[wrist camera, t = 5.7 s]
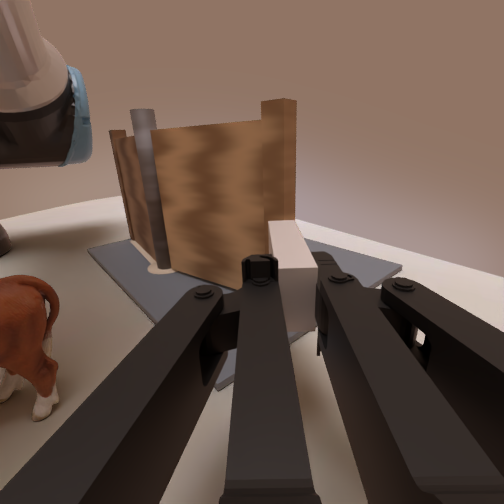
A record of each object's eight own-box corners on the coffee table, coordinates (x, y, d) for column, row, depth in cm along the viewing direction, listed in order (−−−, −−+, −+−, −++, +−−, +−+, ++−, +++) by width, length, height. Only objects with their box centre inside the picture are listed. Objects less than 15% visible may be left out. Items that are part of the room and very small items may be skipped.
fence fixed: (180, 271, 30) (156, 109, 25) (161, 276, 29) (133, 108, 24) (144, 239, 41) (122, 121, 36) (129, 242, 40) (105, 121, 35)
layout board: (88, 252, 37) (87, 248, 37) (226, 219, 50) (226, 216, 50) (218, 391, 16) (217, 382, 15) (401, 269, 29) (402, 264, 28)
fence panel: (170, 269, 29) (146, 117, 24) (182, 263, 30) (161, 117, 25) (283, 306, 22) (283, 98, 17) (294, 297, 23) (296, 100, 18)
